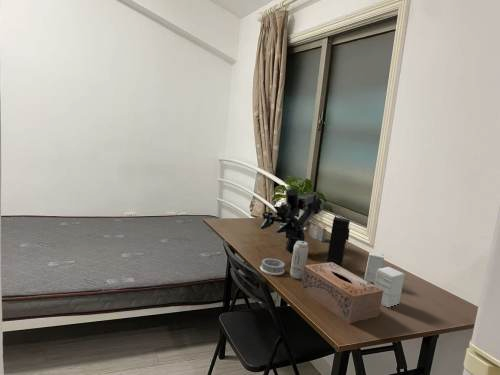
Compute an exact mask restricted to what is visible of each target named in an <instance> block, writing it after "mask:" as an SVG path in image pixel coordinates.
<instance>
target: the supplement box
mask: <svg viewBox="0 0 500 375" xmlns="http://www.w3.org/2000/svg"><path fill="white" fill-rule="evenodd" d="M405 275H406V274H405V273H403V272H401V271H399V270H397V269H394V268H392V267H390V266H385V267H382V268H380V269H377V273H376V279H375V283H373V285H375V286H376V287H378V288H380V289H382V290H383V295H382V301H381V304H382V305H381V306H383V305H384V306H386V307H389V308H391V306H393V307H395V306H394V305H396V306H398V305H397V304H399V305H400V302H401V295H402V291H403V286H404V280H405V277H406V276H405ZM384 306H383V307H384ZM386 307H385V308H386Z"/></svg>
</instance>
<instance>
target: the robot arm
mask: <svg viewBox="0 0 500 375" xmlns="http://www.w3.org/2000/svg"><path fill="white" fill-rule="evenodd" d="M285 197H286V199H285V200H286V202H283V201H276V202H275V204H274V206H273V208H274V210H275V215H274V213H272V212H270V211H263V213H262V218H263V222H262V223H261V224H262V225H261V226H260V229H261V230H264V229H268V228H269V227H272V225H274V223H275V222H276V223H278V225H281V226H279V227H278V229H277V230H276V233H277V234H280V233H285V238H286V239H287V240H286V246H285V249H286V250H287V251H288V252H289V253H291V254H293V250H294V245H295V243H296V241H304V242H305V240H306V234H305V230H304V229H305V227H306V226H307V224H308V223H309V222H310V221H311V219H312V218H313V216H314V215H315V216H316V215H318V214H320V213H321V212H322V211H323V209H324V204H323V200H322V199H320V197H319V195H318V194H317V193H312V192H308V193H307V194H305V195H302V196H299V191H298V189H297V188H292V189H287V190H286V191H285ZM301 211H304V212H303V213H302V214H301V215H300V212H301Z"/></svg>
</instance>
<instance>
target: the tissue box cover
mask: <svg viewBox="0 0 500 375" xmlns="http://www.w3.org/2000/svg"><path fill="white" fill-rule="evenodd" d="M300 290H301V291H302V292H304V293H305V294H307V296H309V295H310V297H311V298H312V299H314V300H315V301H316V300H317V302H318V303H319V304H321V305H322V306H323V307H325V308H327V309H328V310H329V311H330V312H332V313H335V315H336V316H337V315H338V316H337V317H339V318H340V317H341V318H342V319H341V318H340V319H341V320H343V319H344V320H345V321H344V320H343V321H344V322H345V323H347V322H348V323H350V324H352V323H351V322H354V323H357V322H356V321H358V322H360V321H359V320H362V321H364V320H363V319H366V320H368V319H367V318H370V319H372V318H371V317H374V318H376V317H375V316H378V317H379V315H380V310H381V306H382V305H381V301H382V295H383V290H382V289H380V288H378V287H376V286H375V285H374V283H371V282H368V281H365V280H364V279H363V278H362V277H360V276H358V275H357V274H355V273H352V272H351V271H349V270H348V269H346V268H344V267H343V266H342V267H340V266H338V265H336V264H335V263H333V262H328V263H327V262H321V263H315V264H306V265H305V266H304V270H303V276H302V279H301V285H300ZM348 323H347V324H348Z"/></svg>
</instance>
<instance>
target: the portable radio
mask: <svg viewBox="0 0 500 375" xmlns="http://www.w3.org/2000/svg"><path fill="white" fill-rule="evenodd" d="M350 221H351V220H350V219H347V218H344V217H343V218H342V217H338V216H337V215H335V216H334V218H333V220H332V227H331V233H330V239H329V244H328V252H327V257H326V263H328V262H333V263H335V264H336V265H338V266H340V267H342V268H343V264H344V257H345V251H346V246H347V242H348V241H349V238H350V230H351V229H350V228H349V227H350Z"/></svg>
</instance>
